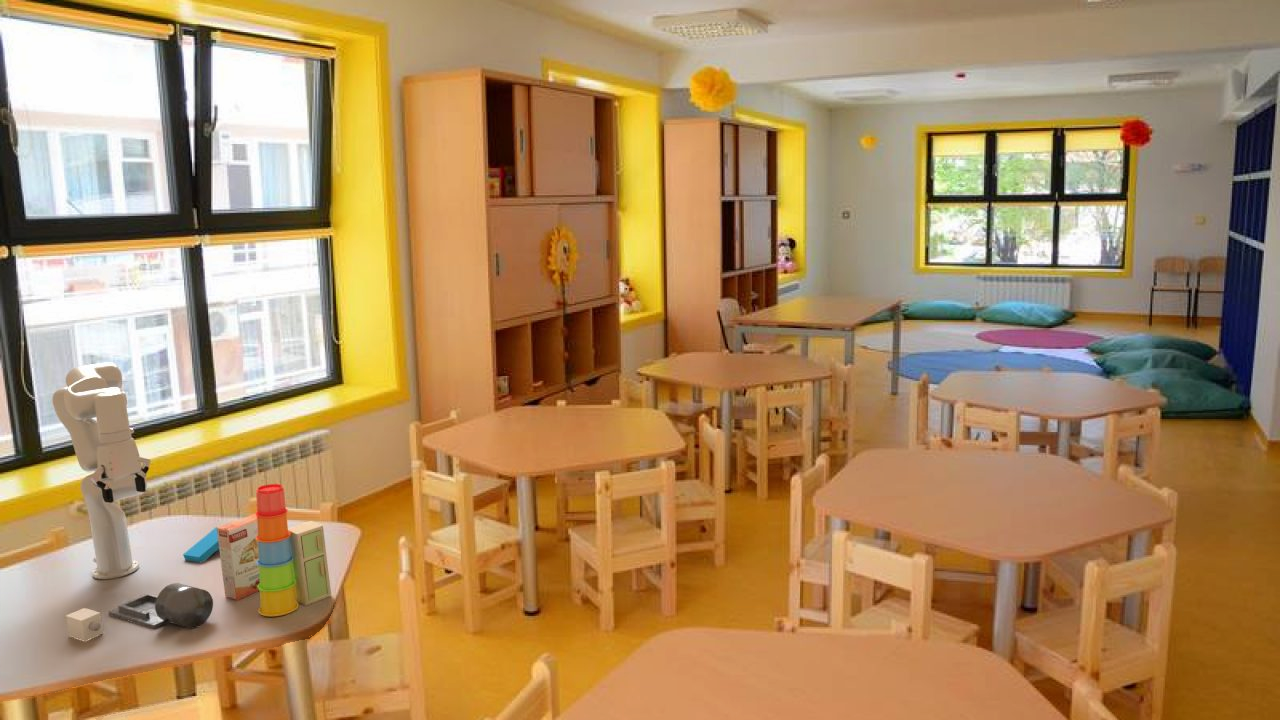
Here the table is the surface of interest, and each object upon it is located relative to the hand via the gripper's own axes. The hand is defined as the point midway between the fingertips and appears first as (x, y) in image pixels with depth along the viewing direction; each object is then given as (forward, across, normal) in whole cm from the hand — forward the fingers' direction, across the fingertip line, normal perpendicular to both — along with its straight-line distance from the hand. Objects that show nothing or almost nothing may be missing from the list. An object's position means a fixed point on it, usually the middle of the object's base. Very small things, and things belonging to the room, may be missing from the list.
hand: (125, 496), depth 267 cm
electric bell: (+31, +4, +14) cm, 35 cm away
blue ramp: (+31, -35, -13) cm, 48 cm away
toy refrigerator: (+32, -20, +45) cm, 59 cm away
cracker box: (+32, -18, +24) cm, 43 cm away
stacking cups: (+32, -11, +41) cm, 54 cm away
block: (+31, +20, +4) cm, 37 cm away
